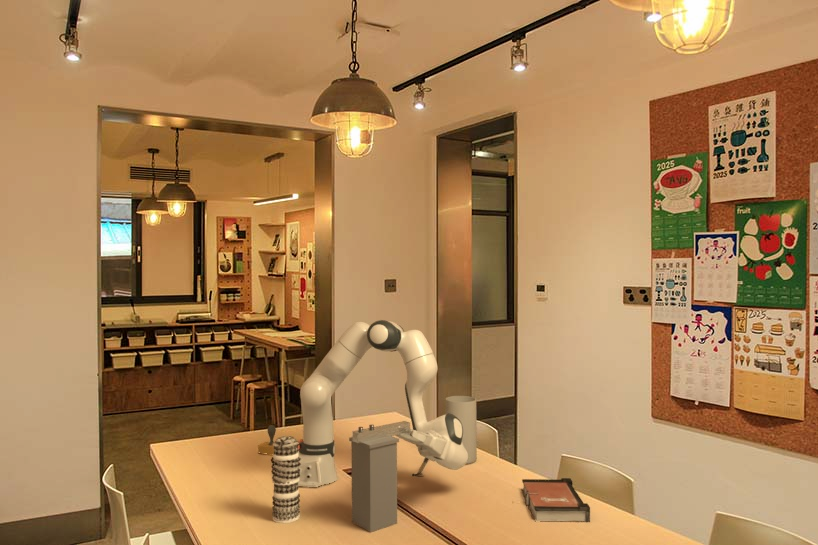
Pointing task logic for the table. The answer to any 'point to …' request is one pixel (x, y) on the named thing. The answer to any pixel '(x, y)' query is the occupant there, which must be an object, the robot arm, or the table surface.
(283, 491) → the decorative candle
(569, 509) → the book
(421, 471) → the tomahawk
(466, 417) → the cylinder vase
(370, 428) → the brown wooden bar
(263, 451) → the rubber stamp
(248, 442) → the table surface
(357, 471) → the pedestal
